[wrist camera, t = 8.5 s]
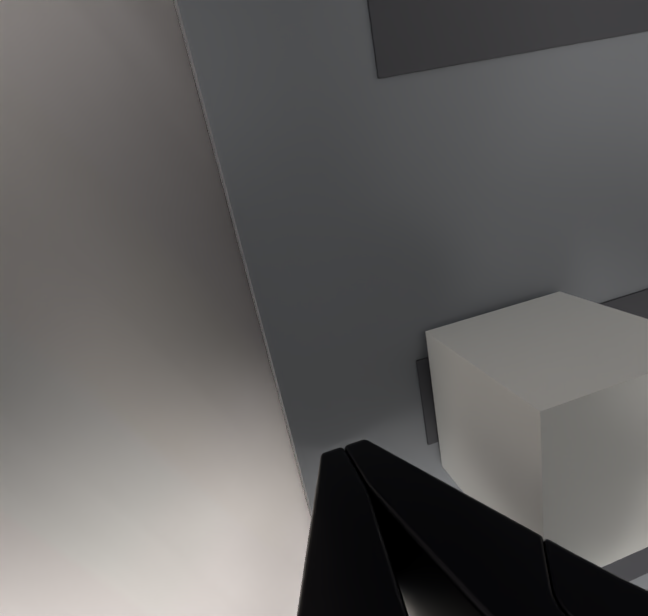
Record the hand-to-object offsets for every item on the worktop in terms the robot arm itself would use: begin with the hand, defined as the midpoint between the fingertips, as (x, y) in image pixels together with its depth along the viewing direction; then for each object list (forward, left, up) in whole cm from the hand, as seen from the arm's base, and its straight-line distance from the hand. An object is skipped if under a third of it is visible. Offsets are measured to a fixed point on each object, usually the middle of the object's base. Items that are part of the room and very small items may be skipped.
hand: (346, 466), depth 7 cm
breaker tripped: (0, -4, -1) cm, 4 cm away
